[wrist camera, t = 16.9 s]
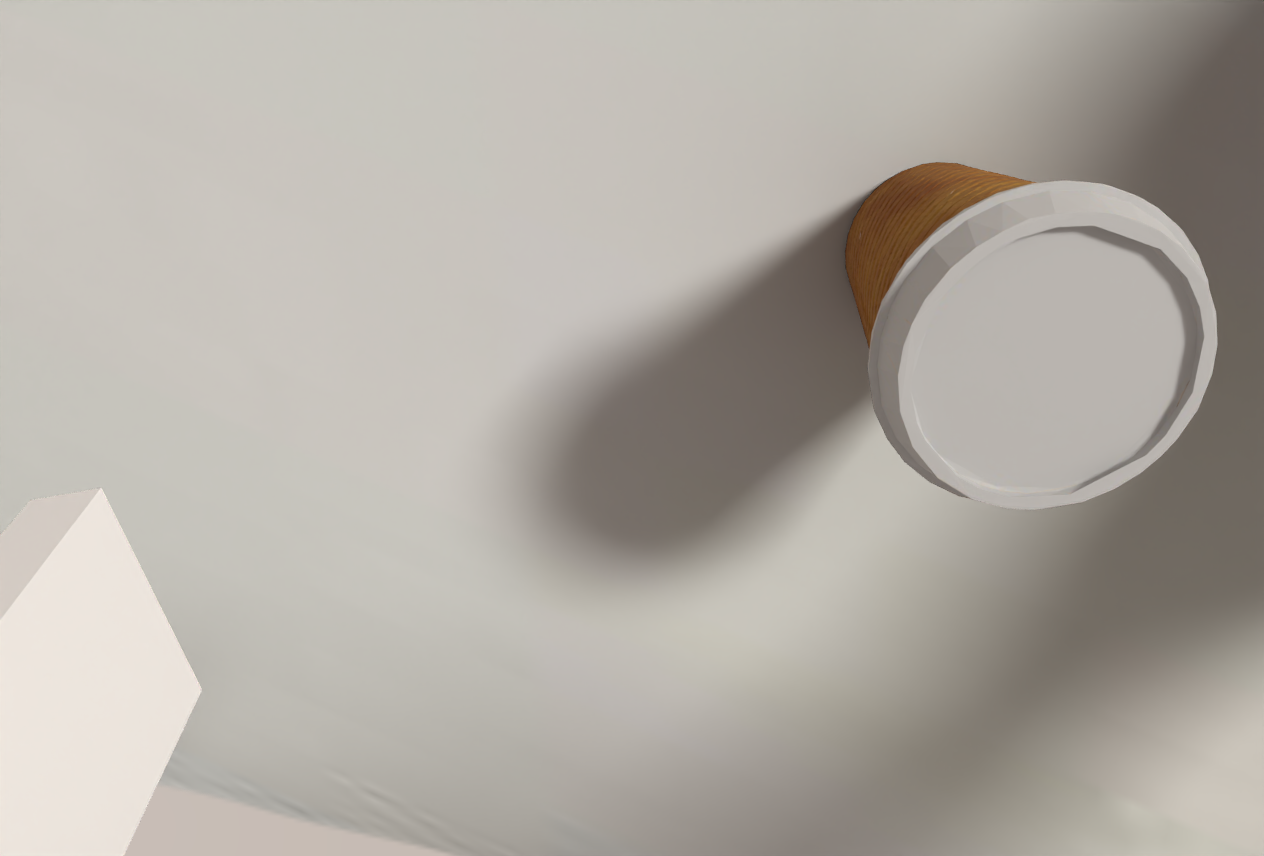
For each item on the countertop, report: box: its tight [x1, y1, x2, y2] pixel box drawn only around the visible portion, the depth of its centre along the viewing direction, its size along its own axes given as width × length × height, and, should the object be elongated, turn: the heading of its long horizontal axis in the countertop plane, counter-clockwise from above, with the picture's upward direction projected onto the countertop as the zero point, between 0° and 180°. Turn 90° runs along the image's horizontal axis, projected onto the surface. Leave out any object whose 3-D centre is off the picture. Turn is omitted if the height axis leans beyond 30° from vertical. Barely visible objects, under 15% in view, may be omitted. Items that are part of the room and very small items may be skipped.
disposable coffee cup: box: [845, 162, 1218, 510], centre depth 35 cm, size 10×10×12 cm
